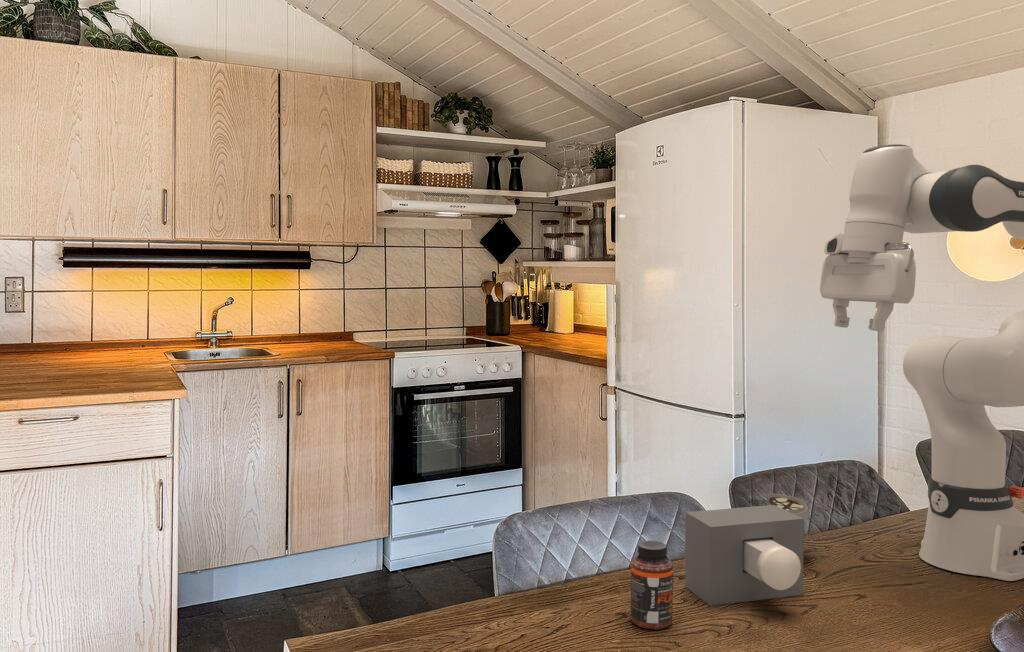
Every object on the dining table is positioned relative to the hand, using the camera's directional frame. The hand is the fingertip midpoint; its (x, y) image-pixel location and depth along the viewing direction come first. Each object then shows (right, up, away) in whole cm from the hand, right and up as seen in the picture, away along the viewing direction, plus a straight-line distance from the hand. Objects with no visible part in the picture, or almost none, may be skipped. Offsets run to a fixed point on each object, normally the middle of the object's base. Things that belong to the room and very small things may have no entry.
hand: (857, 328), depth 128 cm
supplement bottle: (-36, -42, -15) cm, 58 cm away
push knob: (-18, -38, -10) cm, 43 cm away
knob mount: (-20, -41, -4) cm, 46 cm away
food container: (-7, -41, +11) cm, 43 cm away
